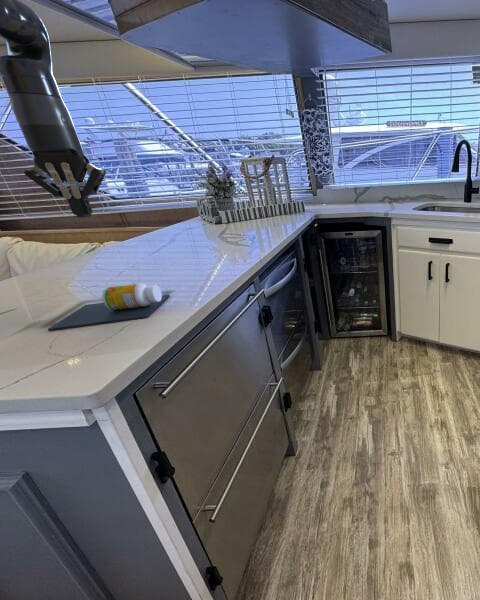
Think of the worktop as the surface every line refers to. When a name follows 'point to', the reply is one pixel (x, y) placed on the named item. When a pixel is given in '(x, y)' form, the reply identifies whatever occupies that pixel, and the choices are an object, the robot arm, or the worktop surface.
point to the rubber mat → (105, 315)
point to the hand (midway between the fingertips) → (84, 216)
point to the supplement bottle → (130, 296)
